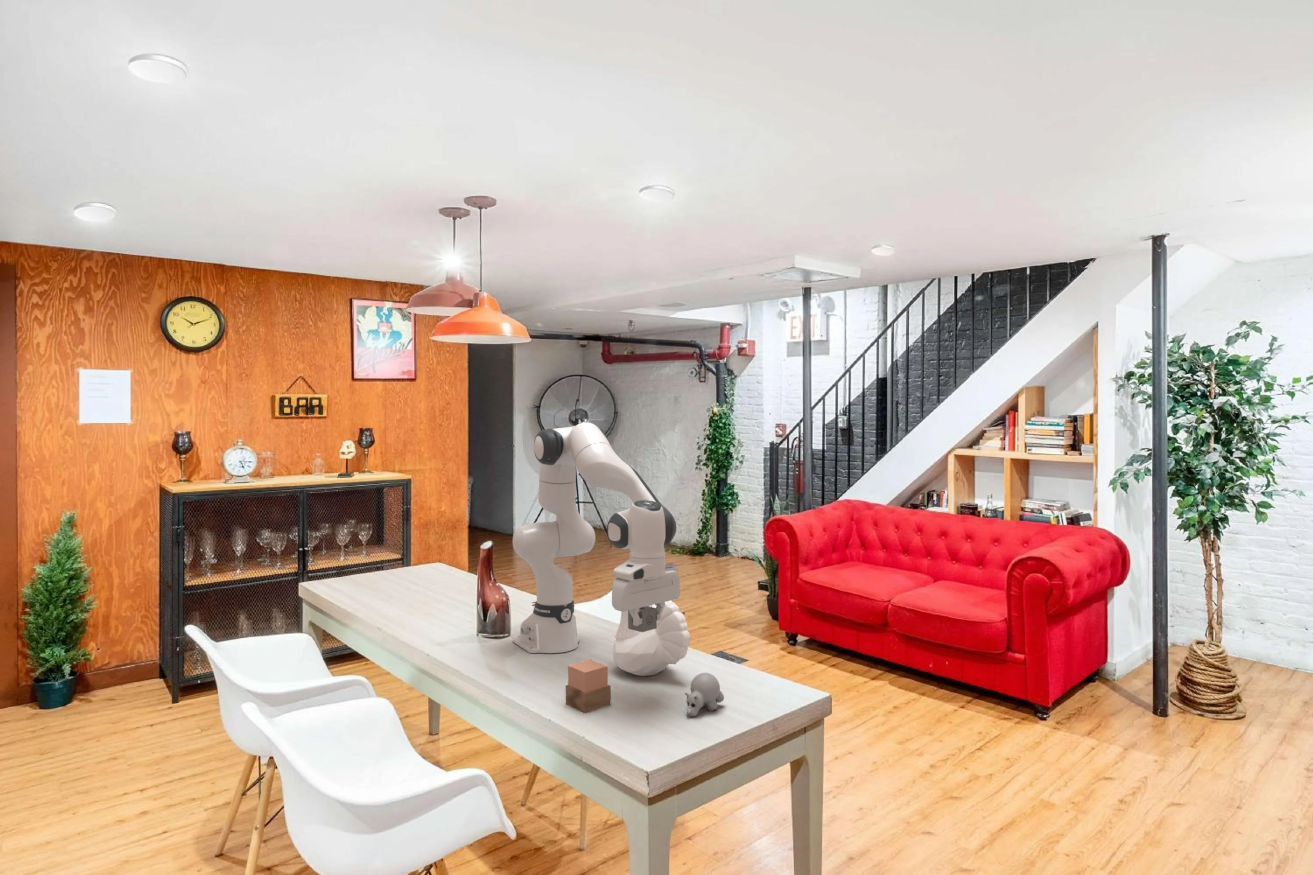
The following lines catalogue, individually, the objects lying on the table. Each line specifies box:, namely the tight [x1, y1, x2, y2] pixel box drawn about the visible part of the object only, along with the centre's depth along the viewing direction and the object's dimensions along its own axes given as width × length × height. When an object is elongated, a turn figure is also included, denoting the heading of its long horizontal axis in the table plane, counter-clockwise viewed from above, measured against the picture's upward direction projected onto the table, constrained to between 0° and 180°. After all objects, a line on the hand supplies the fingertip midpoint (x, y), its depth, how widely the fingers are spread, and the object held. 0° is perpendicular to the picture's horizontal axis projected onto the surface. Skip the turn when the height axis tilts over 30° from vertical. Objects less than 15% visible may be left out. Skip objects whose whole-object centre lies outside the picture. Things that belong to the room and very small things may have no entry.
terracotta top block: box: [567, 659, 609, 693], centre depth 190 cm, size 7×7×5 cm
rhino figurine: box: [684, 672, 725, 718], centre depth 186 cm, size 7×12×8 cm, turn 140°
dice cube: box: [628, 606, 657, 632], centre depth 190 cm, size 5×5×5 cm
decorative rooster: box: [612, 601, 691, 677], centre depth 211 cm, size 25×16×25 cm, turn 35°
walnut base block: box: [565, 684, 612, 714], centre depth 190 cm, size 8×8×5 cm
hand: (647, 622), depth 188 cm, fingers closed on dice cube, 5 cm apart
